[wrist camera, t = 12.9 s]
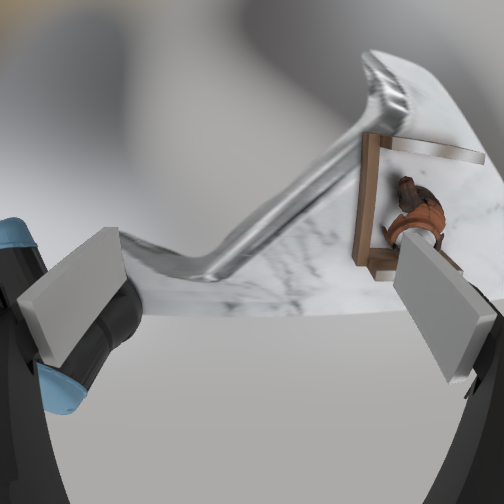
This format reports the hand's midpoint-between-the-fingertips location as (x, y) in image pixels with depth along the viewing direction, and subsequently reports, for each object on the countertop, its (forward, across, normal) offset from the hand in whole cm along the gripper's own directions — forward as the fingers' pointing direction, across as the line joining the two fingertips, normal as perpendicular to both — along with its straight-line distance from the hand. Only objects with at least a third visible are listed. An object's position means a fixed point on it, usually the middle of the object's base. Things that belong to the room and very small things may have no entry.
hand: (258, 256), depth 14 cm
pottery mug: (+30, +21, -4) cm, 36 cm away
